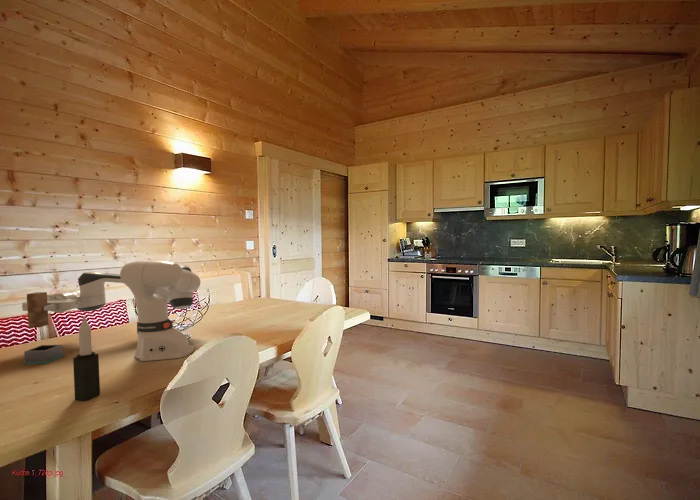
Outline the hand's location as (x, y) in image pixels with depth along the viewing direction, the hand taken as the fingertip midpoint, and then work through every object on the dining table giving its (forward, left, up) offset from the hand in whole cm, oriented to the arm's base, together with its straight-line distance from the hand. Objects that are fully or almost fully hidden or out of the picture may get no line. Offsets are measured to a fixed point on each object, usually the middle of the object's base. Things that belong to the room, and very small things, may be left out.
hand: (35, 308), depth 147 cm
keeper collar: (-8, +6, -20) cm, 22 cm away
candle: (-49, +41, -20) cm, 67 cm away
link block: (0, -1, -8) cm, 8 cm away
